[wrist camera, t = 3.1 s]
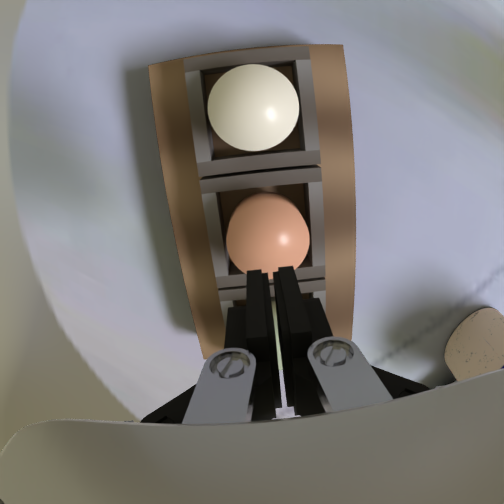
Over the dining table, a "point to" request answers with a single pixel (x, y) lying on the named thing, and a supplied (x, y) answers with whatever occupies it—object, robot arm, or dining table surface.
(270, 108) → the cream button
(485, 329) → the teacup with lid
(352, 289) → the button console
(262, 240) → the terracotta button
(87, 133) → the dining table surface
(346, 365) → the robot arm
